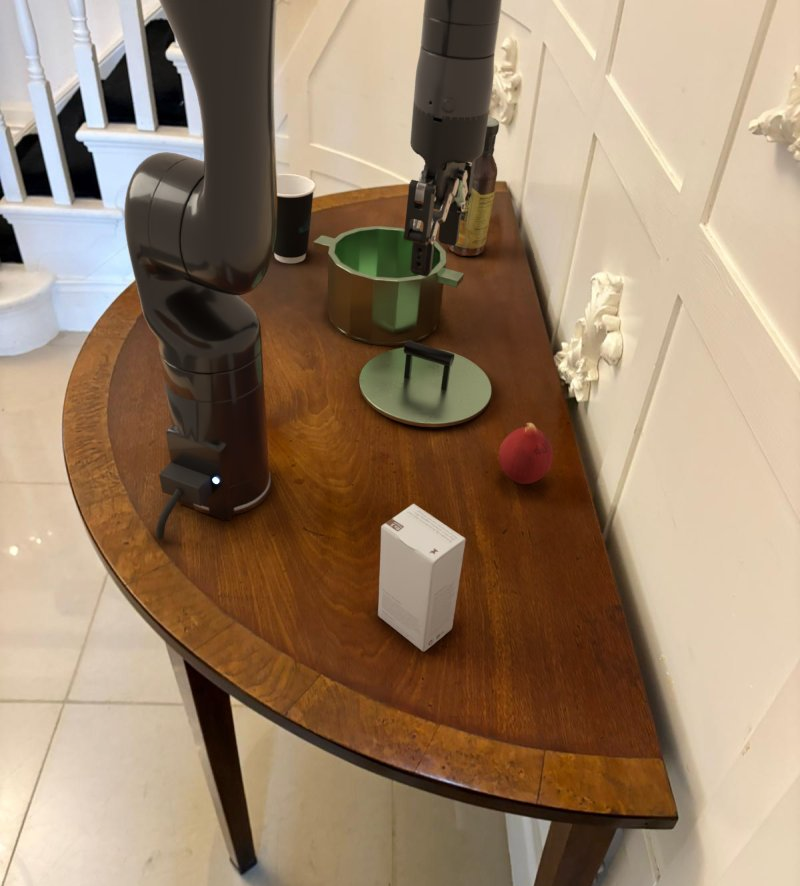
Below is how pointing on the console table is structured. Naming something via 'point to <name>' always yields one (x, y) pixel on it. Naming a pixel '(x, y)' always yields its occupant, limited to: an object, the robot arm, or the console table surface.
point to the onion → (526, 454)
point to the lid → (425, 386)
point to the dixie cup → (293, 217)
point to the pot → (383, 286)
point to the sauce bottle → (479, 199)
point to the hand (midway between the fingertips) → (434, 258)
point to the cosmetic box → (419, 576)
